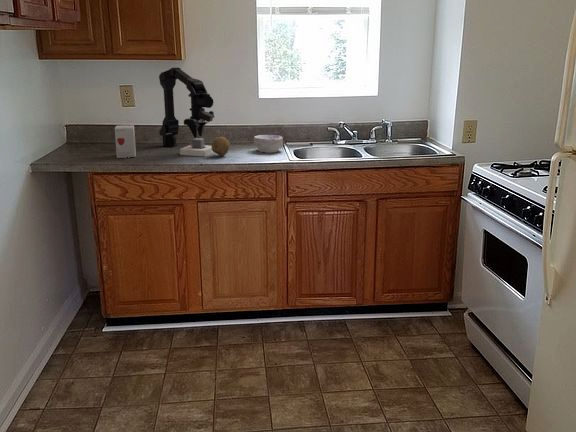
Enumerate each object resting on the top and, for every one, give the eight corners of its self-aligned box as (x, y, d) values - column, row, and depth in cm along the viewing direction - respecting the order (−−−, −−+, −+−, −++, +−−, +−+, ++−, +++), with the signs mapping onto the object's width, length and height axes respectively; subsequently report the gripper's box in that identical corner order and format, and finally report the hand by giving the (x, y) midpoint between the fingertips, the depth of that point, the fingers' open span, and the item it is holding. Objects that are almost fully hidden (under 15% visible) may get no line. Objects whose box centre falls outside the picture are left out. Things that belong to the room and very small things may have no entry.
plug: (192, 151, 286) (191, 139, 284) (196, 150, 289) (195, 137, 287) (201, 152, 284) (200, 139, 282) (204, 150, 288) (204, 138, 286)
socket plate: (180, 154, 283) (179, 147, 282) (192, 149, 295) (192, 142, 294) (204, 156, 279) (204, 149, 278) (216, 151, 291) (216, 144, 290)
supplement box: (116, 158, 273) (113, 127, 268) (118, 154, 281) (115, 125, 277) (135, 157, 275) (133, 127, 270) (136, 154, 283) (134, 124, 278)
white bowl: (284, 149, 300) (284, 134, 298) (281, 154, 286) (281, 139, 284) (256, 148, 302) (256, 133, 299) (251, 153, 287) (251, 138, 285)
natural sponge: (214, 158, 275) (213, 138, 272) (209, 155, 283) (209, 135, 280) (231, 157, 278) (231, 137, 275) (227, 154, 286) (226, 134, 283)
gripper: (202, 109, 269) (204, 140, 274) (219, 105, 286) (220, 135, 291) (182, 107, 272) (183, 139, 277) (199, 104, 289) (200, 133, 294)
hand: (198, 136), depth 284 cm, fingers open, 5 cm apart
